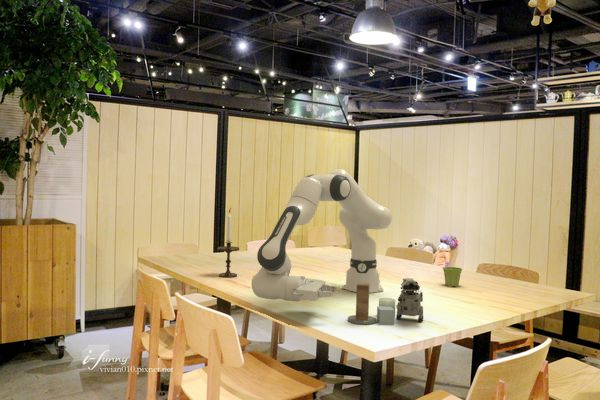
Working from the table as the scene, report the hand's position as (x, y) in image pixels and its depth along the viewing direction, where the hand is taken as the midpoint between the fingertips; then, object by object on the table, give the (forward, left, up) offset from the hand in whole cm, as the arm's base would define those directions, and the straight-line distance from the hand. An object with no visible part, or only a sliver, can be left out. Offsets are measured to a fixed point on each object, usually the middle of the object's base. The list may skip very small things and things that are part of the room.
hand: (334, 291), depth 178 cm
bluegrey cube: (-1, +18, -10) cm, 21 cm away
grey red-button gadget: (-5, +26, -10) cm, 28 cm away
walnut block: (0, +10, -9) cm, 13 cm away
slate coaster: (0, +10, -10) cm, 14 cm away
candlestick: (-65, -64, -10) cm, 92 cm away
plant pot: (-80, +46, -10) cm, 93 cm away
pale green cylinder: (-10, +18, -10) cm, 23 cm away
